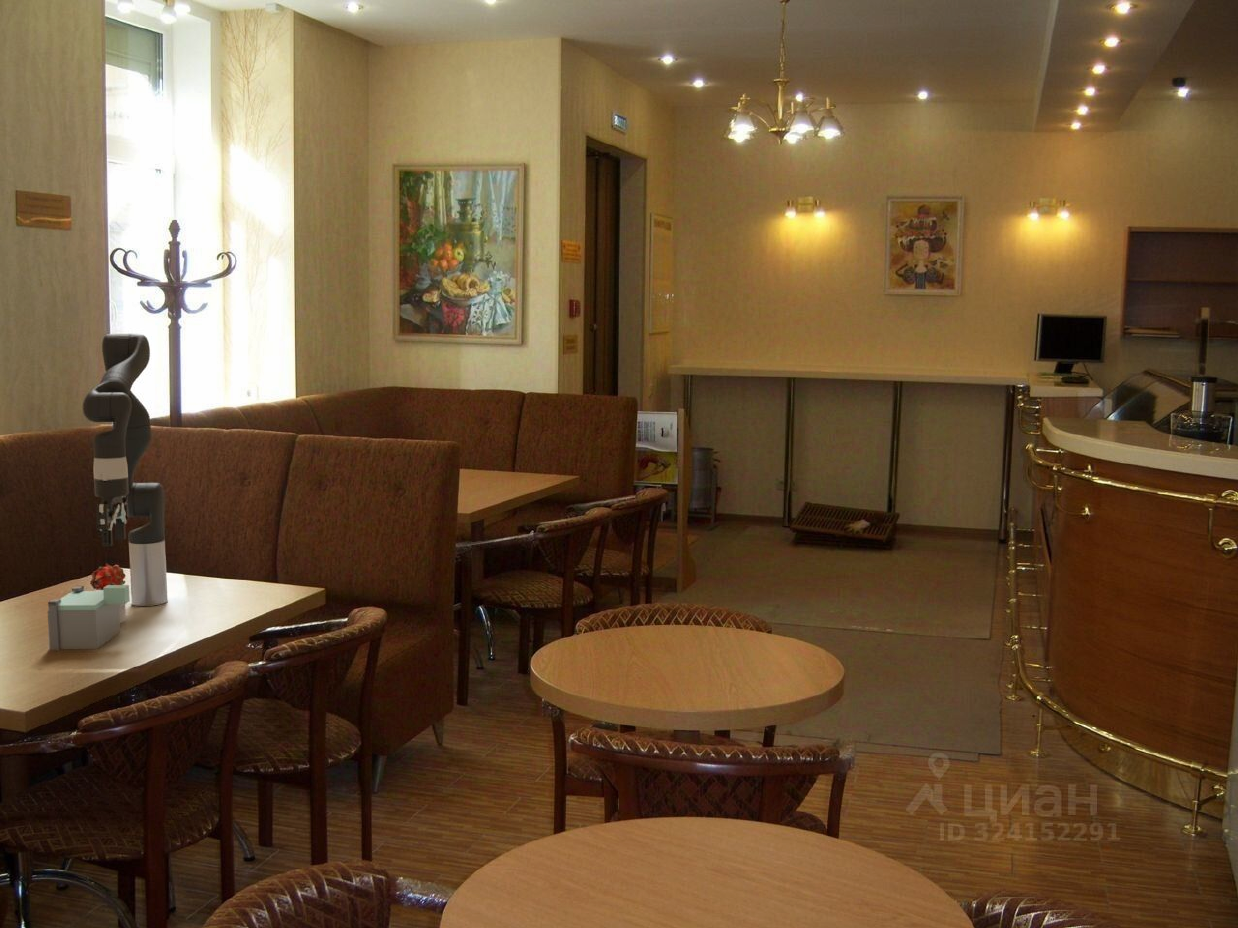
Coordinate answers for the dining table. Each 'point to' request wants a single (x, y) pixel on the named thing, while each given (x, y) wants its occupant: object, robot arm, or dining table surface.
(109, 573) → the dragon fruit
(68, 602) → the snap lid
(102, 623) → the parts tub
